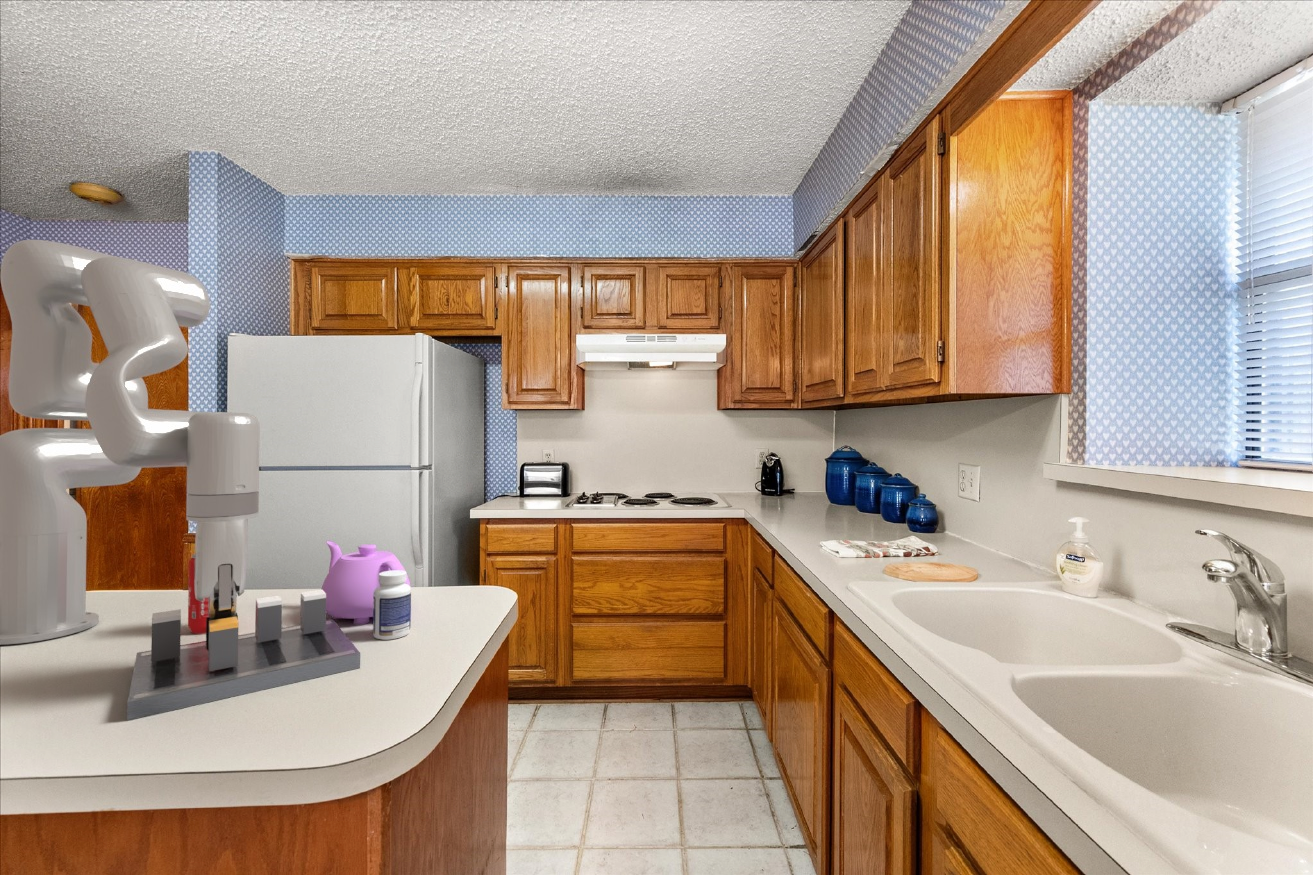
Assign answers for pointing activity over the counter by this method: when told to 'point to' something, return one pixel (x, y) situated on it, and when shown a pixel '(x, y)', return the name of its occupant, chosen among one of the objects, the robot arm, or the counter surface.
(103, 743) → the counter surface
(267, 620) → the breaker
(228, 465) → the robot arm
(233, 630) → the tripped breaker
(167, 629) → the block
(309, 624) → the breaker
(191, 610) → the beverage can
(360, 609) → the teapot
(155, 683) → the panel
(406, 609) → the pill bottle
